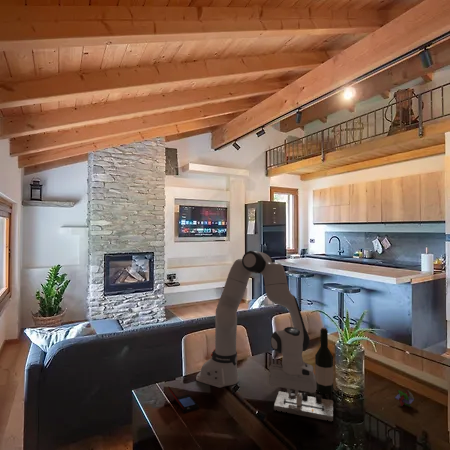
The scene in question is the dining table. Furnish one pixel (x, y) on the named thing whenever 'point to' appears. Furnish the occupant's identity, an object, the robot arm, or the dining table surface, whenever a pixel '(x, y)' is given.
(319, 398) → the console
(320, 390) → the wine bottle
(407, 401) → the geometric puzzle
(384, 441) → the dining table surface
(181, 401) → the handheld game console
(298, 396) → the fader
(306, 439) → the dining table surface
